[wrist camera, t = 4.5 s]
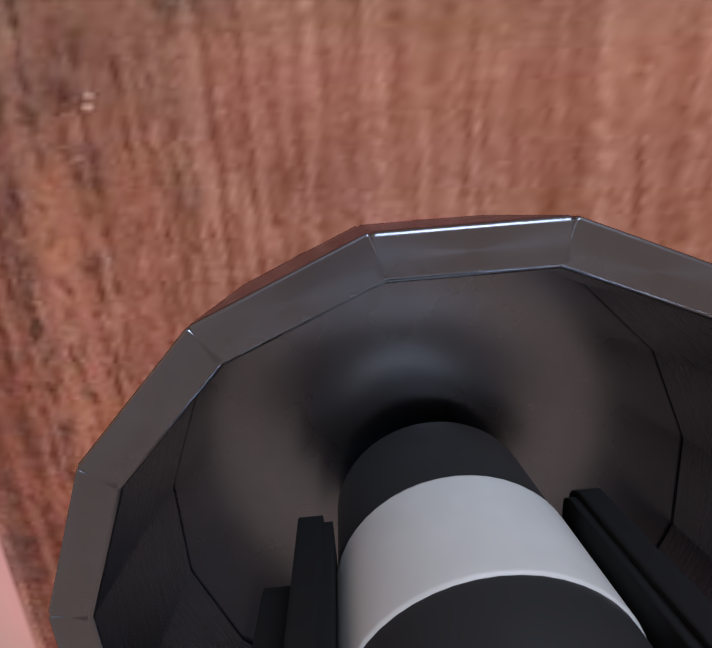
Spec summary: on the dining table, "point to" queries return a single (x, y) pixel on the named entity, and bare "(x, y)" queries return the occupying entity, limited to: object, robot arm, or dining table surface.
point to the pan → (390, 410)
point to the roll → (464, 553)
